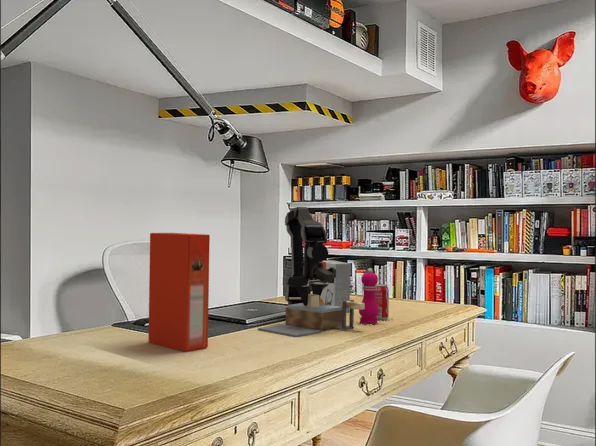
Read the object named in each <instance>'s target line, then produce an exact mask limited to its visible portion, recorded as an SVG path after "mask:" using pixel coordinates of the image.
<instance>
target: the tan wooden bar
mask: <svg viewBox="0 0 596 446" xmlns="http://www.w3.org/2000/svg"><path fill="white" fill-rule="evenodd" d="M341 307H342V301H341ZM346 308H349V310H350V309H354V310H358V311H359V310H363V309H365V303H361V302H357V301H354V302H351V301H347V306H346Z"/></svg>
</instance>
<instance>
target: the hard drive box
mask: <svg viewBox="0 0 596 446" xmlns="http://www.w3.org/2000/svg"><path fill="white" fill-rule="evenodd" d="M320 263H323V268H325V269H329V268H334V269H336V278H334V283H328V282H327V283H326V284H329V285H328V286H326V287H325V288H324V289H323V291H322V293H321V296H320V299H319V304H324V305H331V306H338V307H341V301H350V300H351V267H352V265H351V263H349V262H345V261H344V262H343V261H338V260H324V261H322V262H320ZM346 313H350V308H346Z"/></svg>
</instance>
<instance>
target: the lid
mask: <svg viewBox="0 0 596 446" xmlns="http://www.w3.org/2000/svg"><path fill="white" fill-rule="evenodd" d="M286 308H291V309H298V310H304V311H311V312H318V313H325V312H331V311H338V310H342V307H338V306H331V305H324V304H319V295H315V294H313V293H310V294H308V303H307V306H304V304H303V303H300V304H292V305H288V304H287V307H286Z"/></svg>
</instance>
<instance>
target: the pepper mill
mask: <svg viewBox="0 0 596 446" xmlns="http://www.w3.org/2000/svg"><path fill="white" fill-rule="evenodd" d="M360 280H361V284H363V285H362V290H363V297H362V301H361V302H360V303H365V309H363V310H358V314H359V315H360V316H361V317H360V318H359V324H361V323H362V325H367V324H374V325H377V324H378V320H377V318H376V316H377V315H378V314H379V308H378V305H377V302H376V299H375V290H376V284H379V283H378V282H379V277H378V275H377V274H376V273H374V272H373V269H372V268H371V267H369V268H367V272H365V273H363V274H362V276H361V279H360Z"/></svg>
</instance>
